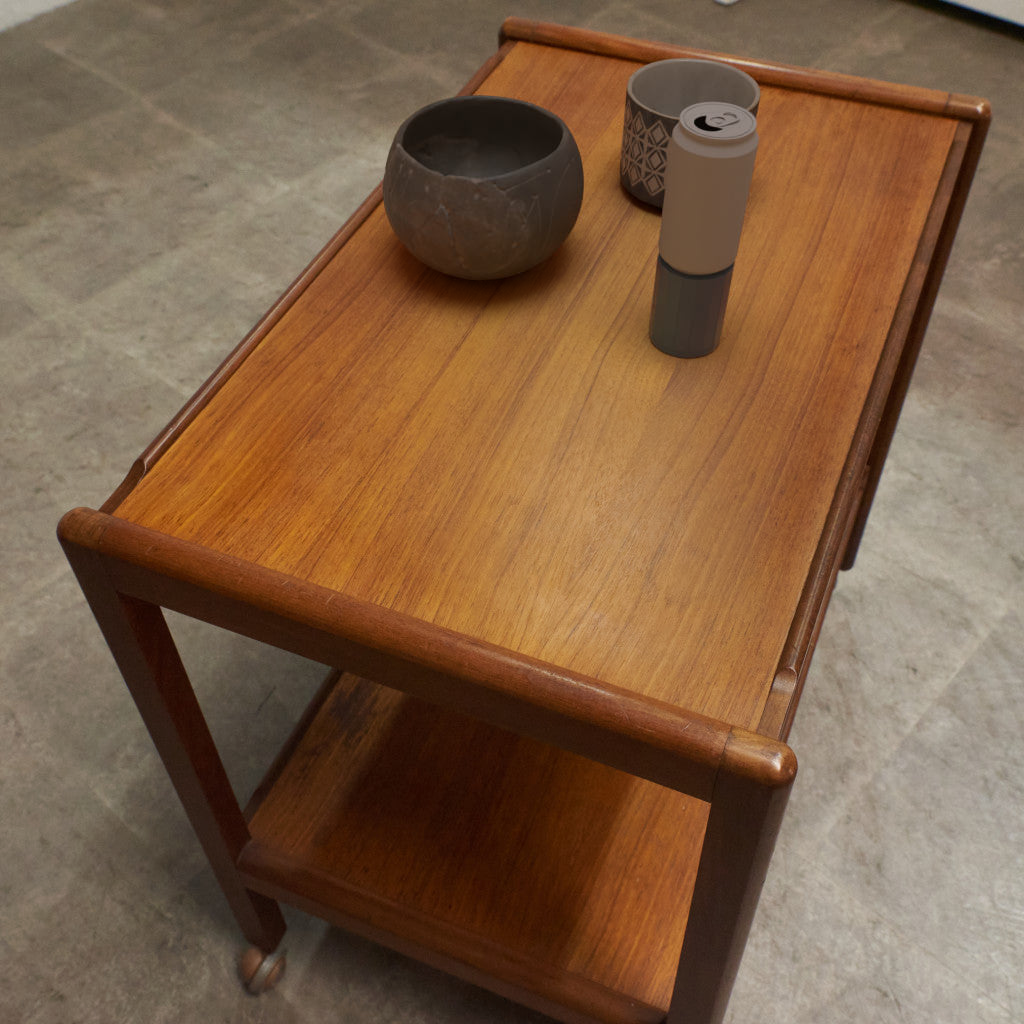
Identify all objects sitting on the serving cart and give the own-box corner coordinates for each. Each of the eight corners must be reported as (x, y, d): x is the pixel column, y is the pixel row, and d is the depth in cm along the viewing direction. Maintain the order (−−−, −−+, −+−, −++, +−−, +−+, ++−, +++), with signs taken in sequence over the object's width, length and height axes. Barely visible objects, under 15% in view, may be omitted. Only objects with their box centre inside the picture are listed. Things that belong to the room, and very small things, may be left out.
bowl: (358, 290, 97) (342, 163, 87) (434, 190, 108) (427, 68, 99) (543, 332, 93) (547, 203, 83) (602, 224, 104) (611, 100, 95)
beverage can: (642, 248, 88) (657, 109, 79) (707, 228, 90) (729, 90, 81) (685, 289, 84) (706, 148, 75) (752, 267, 86) (780, 127, 77)
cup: (724, 319, 94) (739, 242, 88) (715, 363, 90) (730, 285, 84) (655, 308, 95) (664, 231, 89) (643, 351, 91) (652, 273, 85)
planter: (739, 157, 113) (756, 60, 105) (745, 224, 104) (764, 124, 96) (620, 151, 113) (628, 54, 106) (616, 217, 105) (625, 117, 97)
